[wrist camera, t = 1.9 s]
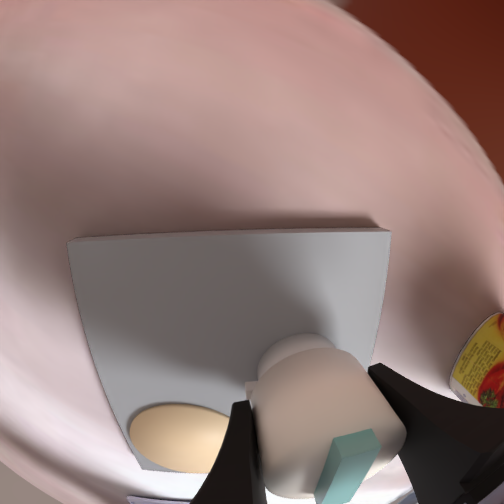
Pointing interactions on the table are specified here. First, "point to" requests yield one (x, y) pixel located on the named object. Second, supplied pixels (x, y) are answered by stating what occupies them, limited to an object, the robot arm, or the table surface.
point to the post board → (217, 322)
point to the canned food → (481, 366)
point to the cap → (322, 426)
